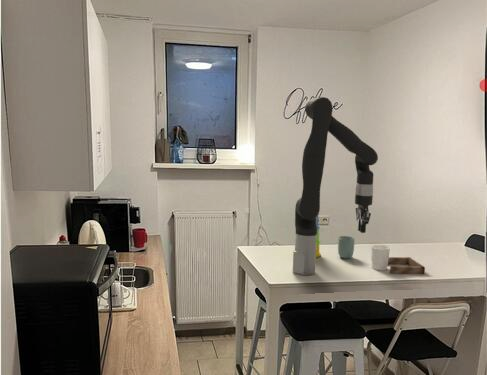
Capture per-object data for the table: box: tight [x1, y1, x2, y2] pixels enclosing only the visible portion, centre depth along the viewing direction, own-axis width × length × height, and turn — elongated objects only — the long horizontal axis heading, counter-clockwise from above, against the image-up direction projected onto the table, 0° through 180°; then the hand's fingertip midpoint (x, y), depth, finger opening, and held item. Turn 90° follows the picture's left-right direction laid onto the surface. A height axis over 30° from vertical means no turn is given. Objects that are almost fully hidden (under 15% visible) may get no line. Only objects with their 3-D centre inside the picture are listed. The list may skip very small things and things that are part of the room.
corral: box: [388, 256, 426, 275], centre depth 194 cm, size 15×15×3 cm
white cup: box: [371, 244, 391, 271], centre depth 193 cm, size 8×8×10 cm
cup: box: [337, 235, 356, 260], centre depth 208 cm, size 8×8×10 cm
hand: (361, 231), depth 190 cm, fingers closed
